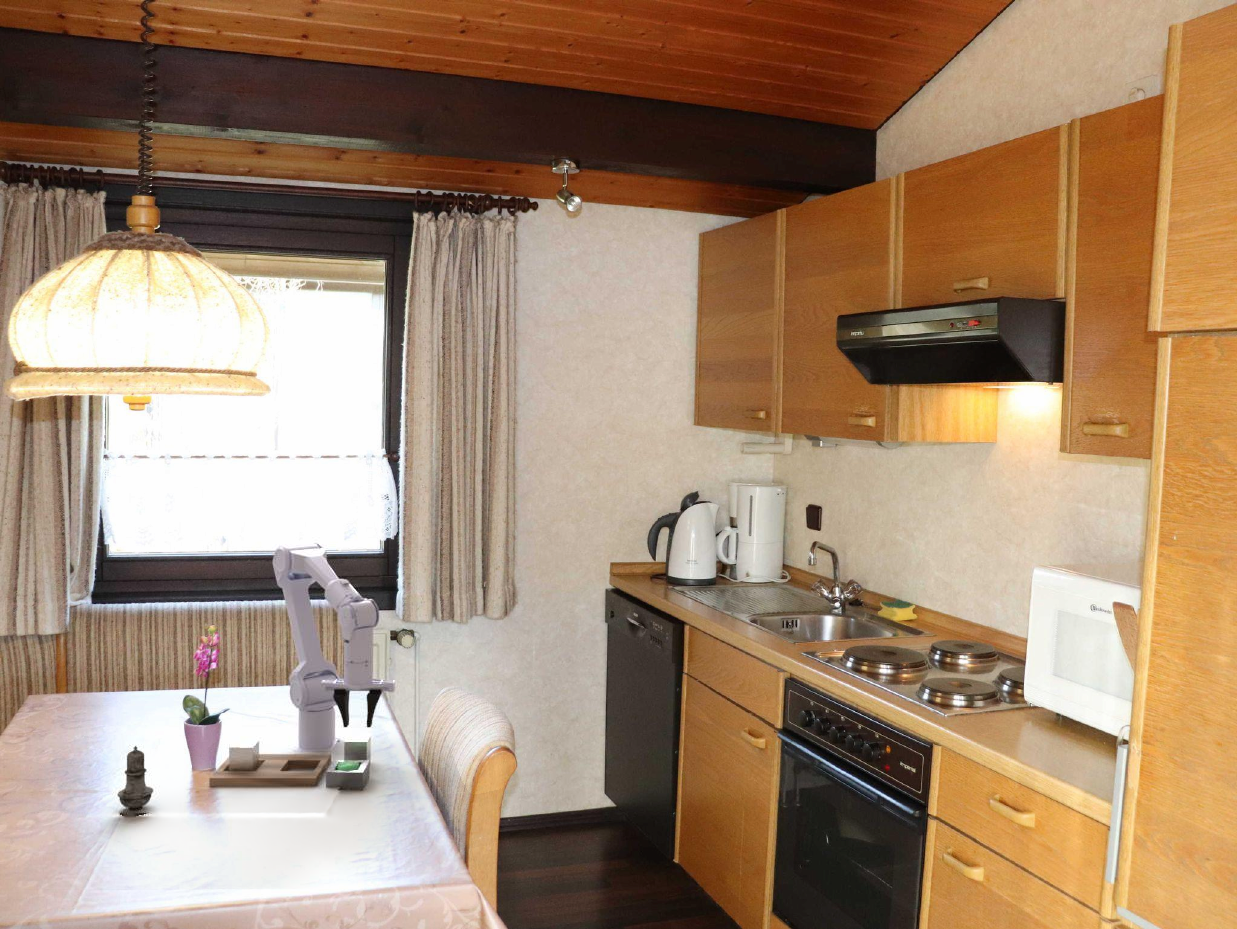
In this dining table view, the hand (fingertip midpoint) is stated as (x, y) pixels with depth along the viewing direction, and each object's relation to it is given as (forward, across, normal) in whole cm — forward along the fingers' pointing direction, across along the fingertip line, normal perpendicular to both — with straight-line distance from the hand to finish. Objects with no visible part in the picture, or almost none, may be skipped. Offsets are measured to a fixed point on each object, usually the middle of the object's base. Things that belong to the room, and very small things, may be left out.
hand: (357, 725), depth 215 cm
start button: (+7, 0, -10) cm, 12 cm away
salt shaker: (+9, -35, -24) cm, 43 cm away
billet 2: (+8, 0, 0) cm, 8 cm away
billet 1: (+8, -21, -6) cm, 23 cm away
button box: (+8, 0, -10) cm, 13 cm away
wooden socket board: (+8, -16, -6) cm, 19 cm away
